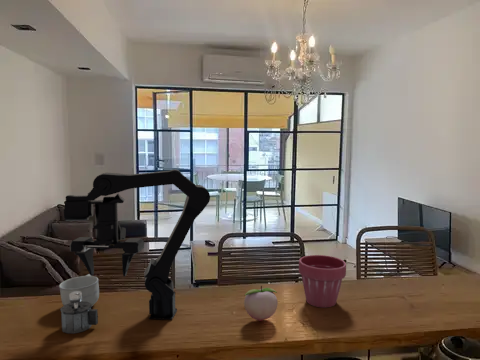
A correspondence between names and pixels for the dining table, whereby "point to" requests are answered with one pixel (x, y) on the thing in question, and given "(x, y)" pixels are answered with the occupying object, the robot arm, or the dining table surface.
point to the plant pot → (322, 279)
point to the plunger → (75, 298)
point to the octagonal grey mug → (78, 317)
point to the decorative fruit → (260, 303)
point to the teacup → (80, 289)
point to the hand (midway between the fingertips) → (108, 275)
